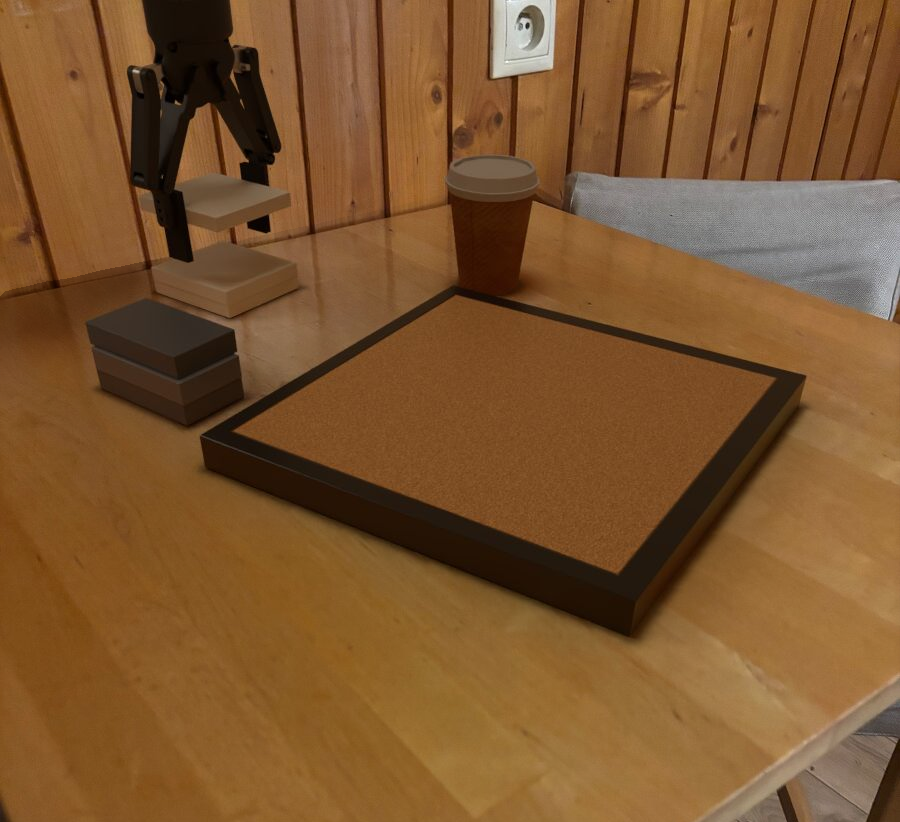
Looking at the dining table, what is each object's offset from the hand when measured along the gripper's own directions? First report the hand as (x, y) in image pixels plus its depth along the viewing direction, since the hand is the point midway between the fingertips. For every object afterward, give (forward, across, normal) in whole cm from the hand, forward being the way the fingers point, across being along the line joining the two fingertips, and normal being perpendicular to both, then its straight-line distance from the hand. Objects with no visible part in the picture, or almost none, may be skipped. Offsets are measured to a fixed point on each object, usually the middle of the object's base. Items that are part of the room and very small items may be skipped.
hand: (221, 244), depth 96 cm
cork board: (+5, -7, -41) cm, 42 cm away
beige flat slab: (-4, 0, 0) cm, 4 cm away
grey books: (+5, -19, -13) cm, 24 cm away
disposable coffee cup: (+5, +18, -21) cm, 28 cm away
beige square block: (+5, 0, 0) cm, 5 cm away
